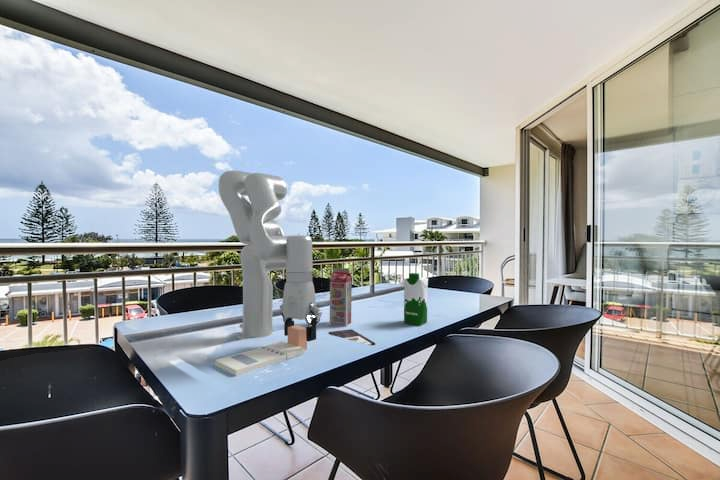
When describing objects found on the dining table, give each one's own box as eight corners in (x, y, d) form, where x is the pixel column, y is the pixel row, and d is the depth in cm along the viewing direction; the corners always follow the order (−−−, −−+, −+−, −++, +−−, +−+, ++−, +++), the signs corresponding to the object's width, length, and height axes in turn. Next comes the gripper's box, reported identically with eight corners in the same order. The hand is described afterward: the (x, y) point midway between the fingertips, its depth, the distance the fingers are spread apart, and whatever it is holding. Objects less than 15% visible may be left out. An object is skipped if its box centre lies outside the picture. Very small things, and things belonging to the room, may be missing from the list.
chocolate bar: (351, 329, 121) (375, 343, 104) (351, 331, 121) (375, 346, 104) (328, 331, 117) (349, 346, 100) (328, 334, 117) (349, 349, 100)
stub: (264, 351, 93) (264, 329, 93) (290, 343, 100) (290, 323, 100) (286, 359, 87) (287, 336, 87) (312, 350, 94) (312, 329, 94)
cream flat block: (215, 366, 82) (215, 359, 82) (263, 352, 93) (263, 346, 93) (236, 376, 76) (236, 369, 76) (286, 360, 86) (286, 354, 86)
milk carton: (401, 323, 132) (401, 273, 132) (410, 319, 140) (410, 271, 140) (421, 326, 127) (422, 274, 127) (430, 321, 135) (430, 273, 135)
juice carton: (335, 321, 134) (336, 267, 134) (351, 322, 132) (351, 267, 132) (329, 325, 128) (330, 268, 128) (345, 326, 126) (346, 269, 126)
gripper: (270, 277, 98) (271, 335, 98) (309, 280, 87) (310, 345, 87) (291, 275, 104) (291, 330, 104) (329, 278, 93) (330, 339, 93)
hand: (300, 337), depth 95 cm, fingers open, 9 cm apart
